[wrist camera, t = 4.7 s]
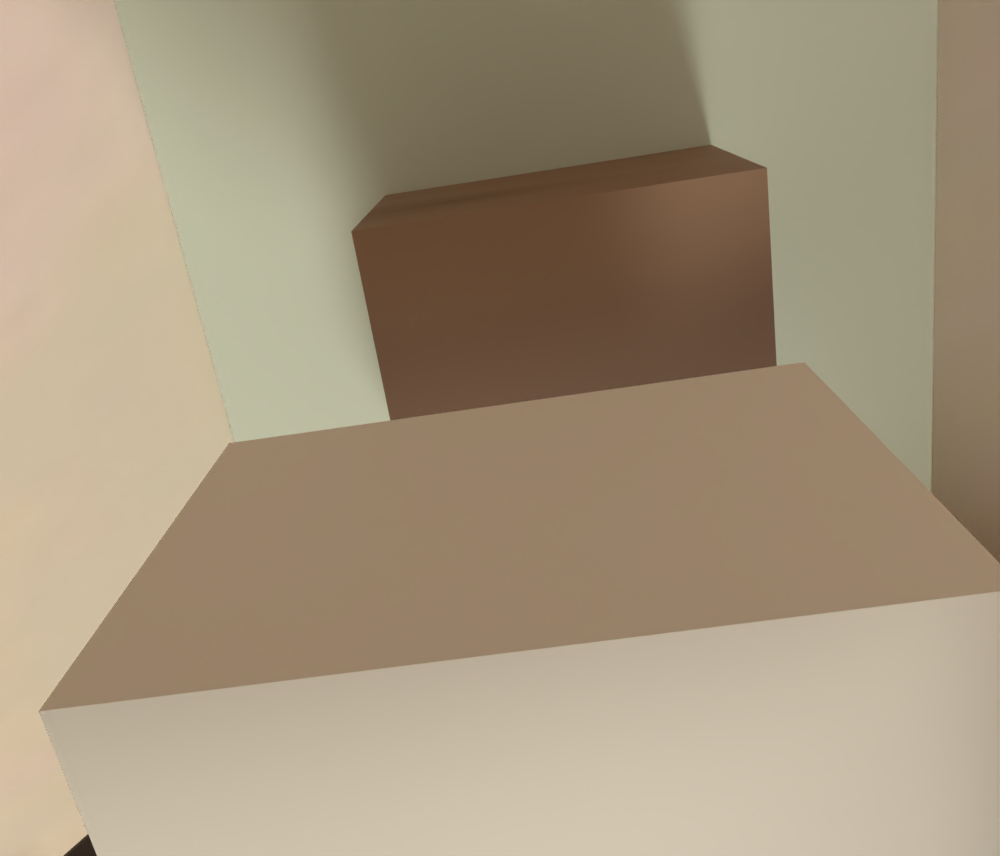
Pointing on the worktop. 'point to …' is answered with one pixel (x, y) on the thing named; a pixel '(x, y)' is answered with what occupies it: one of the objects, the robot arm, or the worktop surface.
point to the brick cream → (552, 642)
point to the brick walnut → (569, 281)
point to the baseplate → (539, 165)
